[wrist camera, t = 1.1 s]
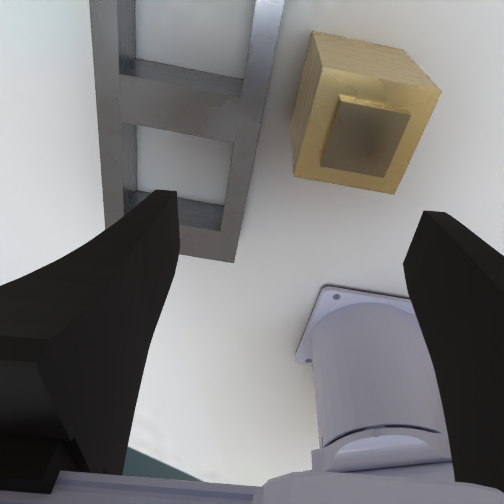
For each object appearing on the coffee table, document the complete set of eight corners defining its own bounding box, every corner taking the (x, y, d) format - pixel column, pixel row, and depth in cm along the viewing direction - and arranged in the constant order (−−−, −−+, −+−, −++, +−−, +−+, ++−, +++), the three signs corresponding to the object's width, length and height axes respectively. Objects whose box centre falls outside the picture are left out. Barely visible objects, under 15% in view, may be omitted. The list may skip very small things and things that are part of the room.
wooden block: (402, 49, 18) (445, 95, 13) (369, 136, 20) (396, 200, 16) (312, 30, 17) (324, 71, 13) (290, 120, 20) (293, 181, 15)
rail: (304, -119, 14) (308, -124, 12) (237, 236, 24) (233, 263, 23) (104, -166, 14) (76, -179, 12) (119, 216, 24) (106, 242, 22)
